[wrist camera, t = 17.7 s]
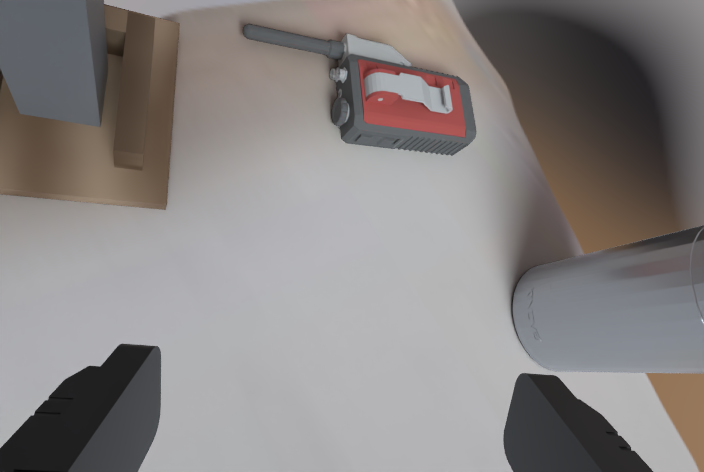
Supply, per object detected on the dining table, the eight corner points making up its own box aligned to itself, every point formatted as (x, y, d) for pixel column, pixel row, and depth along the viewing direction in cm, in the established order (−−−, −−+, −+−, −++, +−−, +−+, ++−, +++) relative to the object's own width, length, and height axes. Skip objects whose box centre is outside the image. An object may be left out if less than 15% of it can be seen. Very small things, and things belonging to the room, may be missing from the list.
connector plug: (108, 68, 29) (95, -123, 17) (100, 127, 27) (80, -37, 16) (31, 52, 27) (-39, -171, 16) (19, 113, 26) (-63, -79, 15)
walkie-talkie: (452, 74, 43) (238, 29, 35) (484, 46, 40) (252, -14, 31) (466, 161, 41) (242, 135, 33) (500, 140, 38) (257, 104, 29)
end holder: (178, 32, 32) (183, -3, 29) (165, 209, 29) (169, 191, 26) (-38, -21, 27) (-59, -70, 24) (-84, 186, 24) (-115, 159, 21)
